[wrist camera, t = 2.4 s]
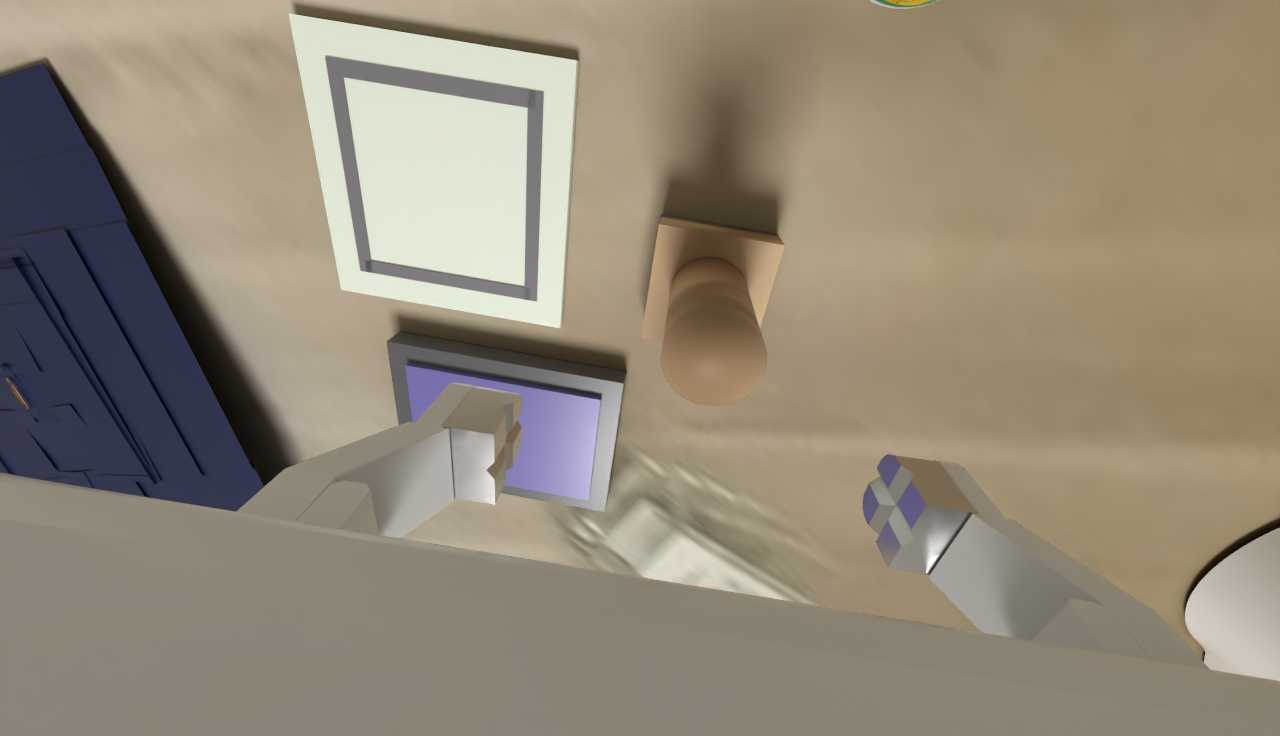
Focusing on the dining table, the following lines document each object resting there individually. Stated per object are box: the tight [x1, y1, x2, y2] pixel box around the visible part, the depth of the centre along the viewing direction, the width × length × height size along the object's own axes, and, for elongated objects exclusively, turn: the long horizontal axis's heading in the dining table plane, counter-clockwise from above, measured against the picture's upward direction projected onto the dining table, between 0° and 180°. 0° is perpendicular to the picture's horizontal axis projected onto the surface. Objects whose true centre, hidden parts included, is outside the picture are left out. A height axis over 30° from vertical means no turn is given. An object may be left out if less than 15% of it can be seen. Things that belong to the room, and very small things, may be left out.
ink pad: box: [387, 332, 627, 512], centre depth 25 cm, size 12×9×2 cm
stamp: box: [641, 214, 785, 406], centre depth 18 cm, size 5×5×8 cm
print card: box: [289, 14, 579, 328], centre depth 20 cm, size 11×11×1 cm
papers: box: [0, 64, 264, 512], centre depth 27 cm, size 24×30×4 cm
